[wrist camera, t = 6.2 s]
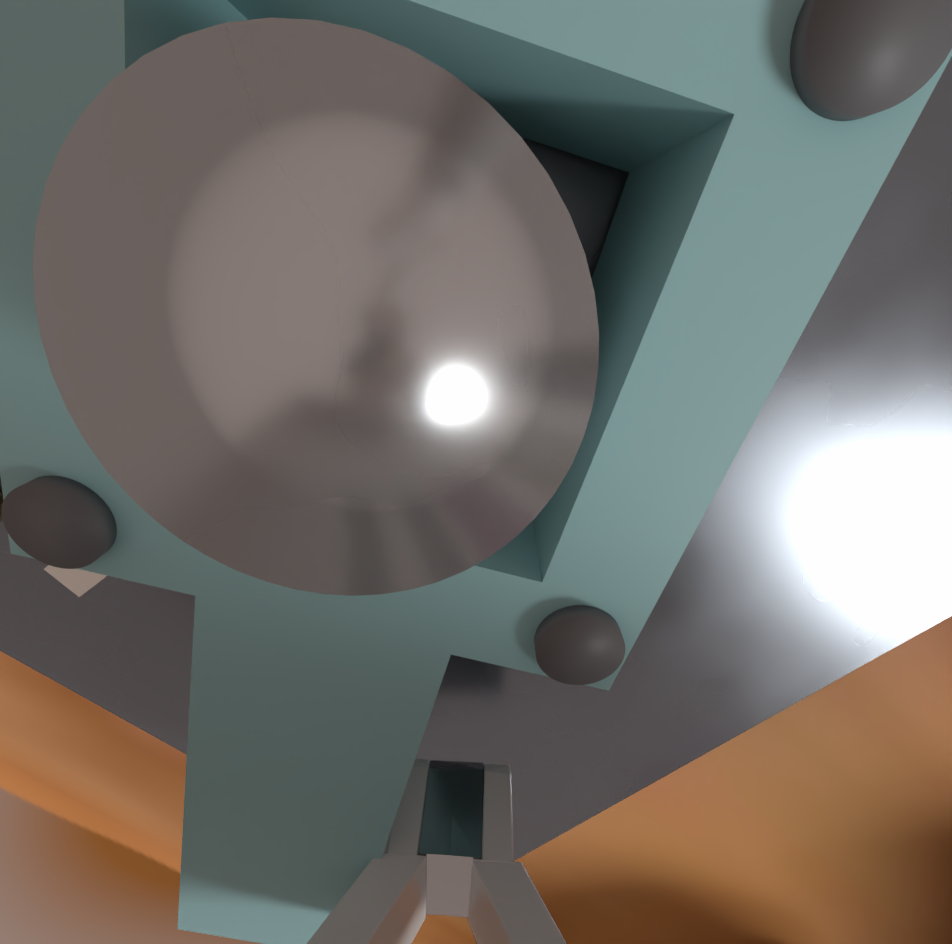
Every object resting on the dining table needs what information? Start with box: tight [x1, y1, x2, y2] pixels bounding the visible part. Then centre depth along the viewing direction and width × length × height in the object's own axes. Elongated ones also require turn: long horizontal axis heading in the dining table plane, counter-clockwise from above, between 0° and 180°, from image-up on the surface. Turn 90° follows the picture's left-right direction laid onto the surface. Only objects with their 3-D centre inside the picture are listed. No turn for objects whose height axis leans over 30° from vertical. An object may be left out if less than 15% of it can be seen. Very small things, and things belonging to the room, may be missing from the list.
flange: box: [0, 0, 952, 944], centre depth 7 cm, size 14×7×3 cm, turn 164°
